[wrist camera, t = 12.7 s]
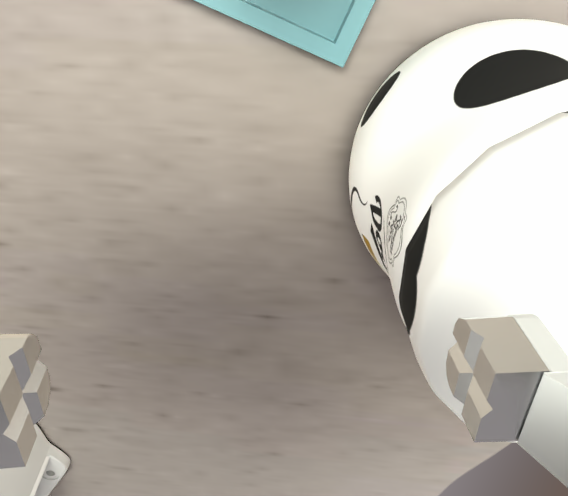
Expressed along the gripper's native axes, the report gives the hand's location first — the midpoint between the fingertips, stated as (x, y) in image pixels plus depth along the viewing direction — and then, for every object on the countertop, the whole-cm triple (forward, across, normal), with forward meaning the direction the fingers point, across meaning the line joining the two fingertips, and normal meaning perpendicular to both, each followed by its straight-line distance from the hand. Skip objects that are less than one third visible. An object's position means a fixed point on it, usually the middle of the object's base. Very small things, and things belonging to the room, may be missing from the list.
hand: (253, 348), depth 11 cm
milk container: (+25, -15, +6) cm, 30 cm away
